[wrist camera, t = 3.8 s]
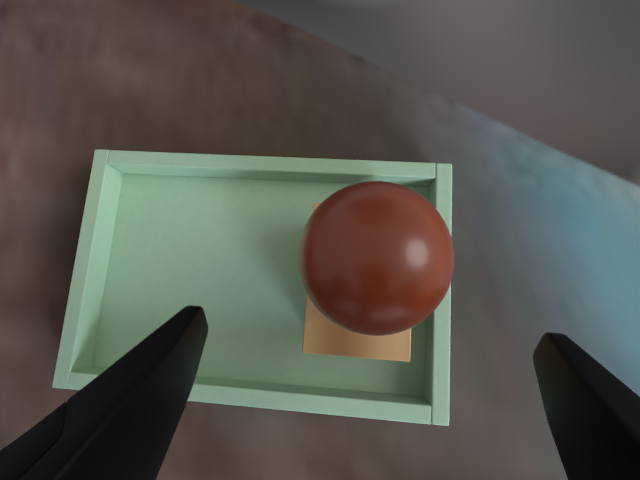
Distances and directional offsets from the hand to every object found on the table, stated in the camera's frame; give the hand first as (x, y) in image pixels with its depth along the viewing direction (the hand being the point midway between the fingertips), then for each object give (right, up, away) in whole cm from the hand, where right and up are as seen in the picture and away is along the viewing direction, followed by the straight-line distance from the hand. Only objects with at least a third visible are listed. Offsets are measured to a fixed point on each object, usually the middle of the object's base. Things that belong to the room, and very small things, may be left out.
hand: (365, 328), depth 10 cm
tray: (-4, 0, +10) cm, 11 cm away
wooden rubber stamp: (+1, 0, +9) cm, 9 cm away
